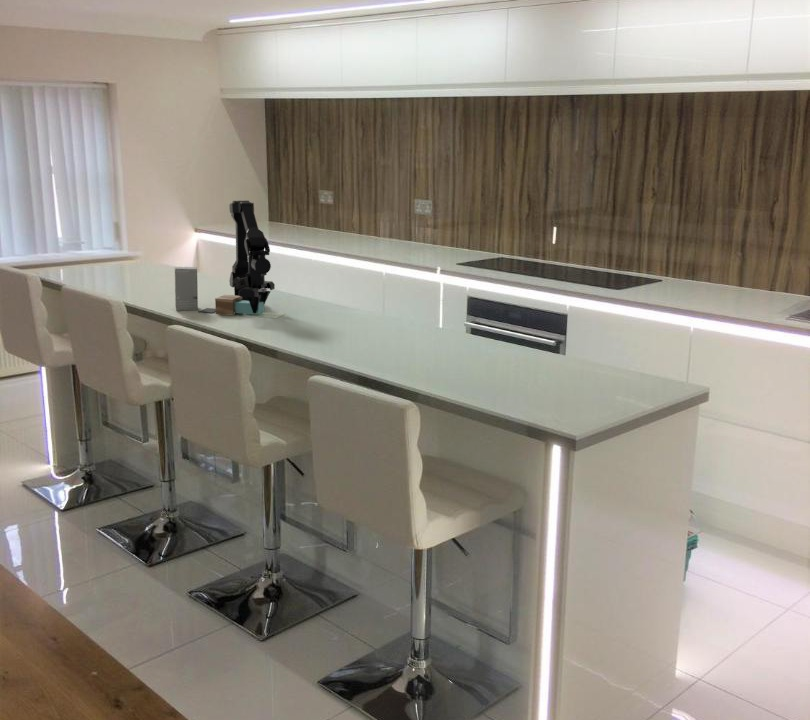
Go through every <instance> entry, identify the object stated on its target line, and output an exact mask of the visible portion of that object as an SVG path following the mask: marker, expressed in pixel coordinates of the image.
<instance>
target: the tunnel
mask: <svg viewBox="0 0 810 720" xmlns="http://www.w3.org/2000/svg"><path fill="white" fill-rule="evenodd" d="M237 300H242V296H236V295H234V294H223V295H222V296H218V297H216V298H214V301H215V302H214V303H215V309H216V312H215V315H226V316H227V315H228V316H234V315H235V314H236V313H235V310H234V302H235V301H237Z"/></svg>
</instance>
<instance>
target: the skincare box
mask: <svg viewBox="0 0 810 720" xmlns="http://www.w3.org/2000/svg"><path fill="white" fill-rule="evenodd" d="M198 286H199V285H198V268H197V267H196V266H174V295H175V298H174V300H175V301H174V302H175V303H174V304H175V310H176V311H195V310H196V311H198V310H199V305H198V304H199V301H198V299H199V298H198V297H199V296H198V294H199V293H198Z"/></svg>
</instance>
